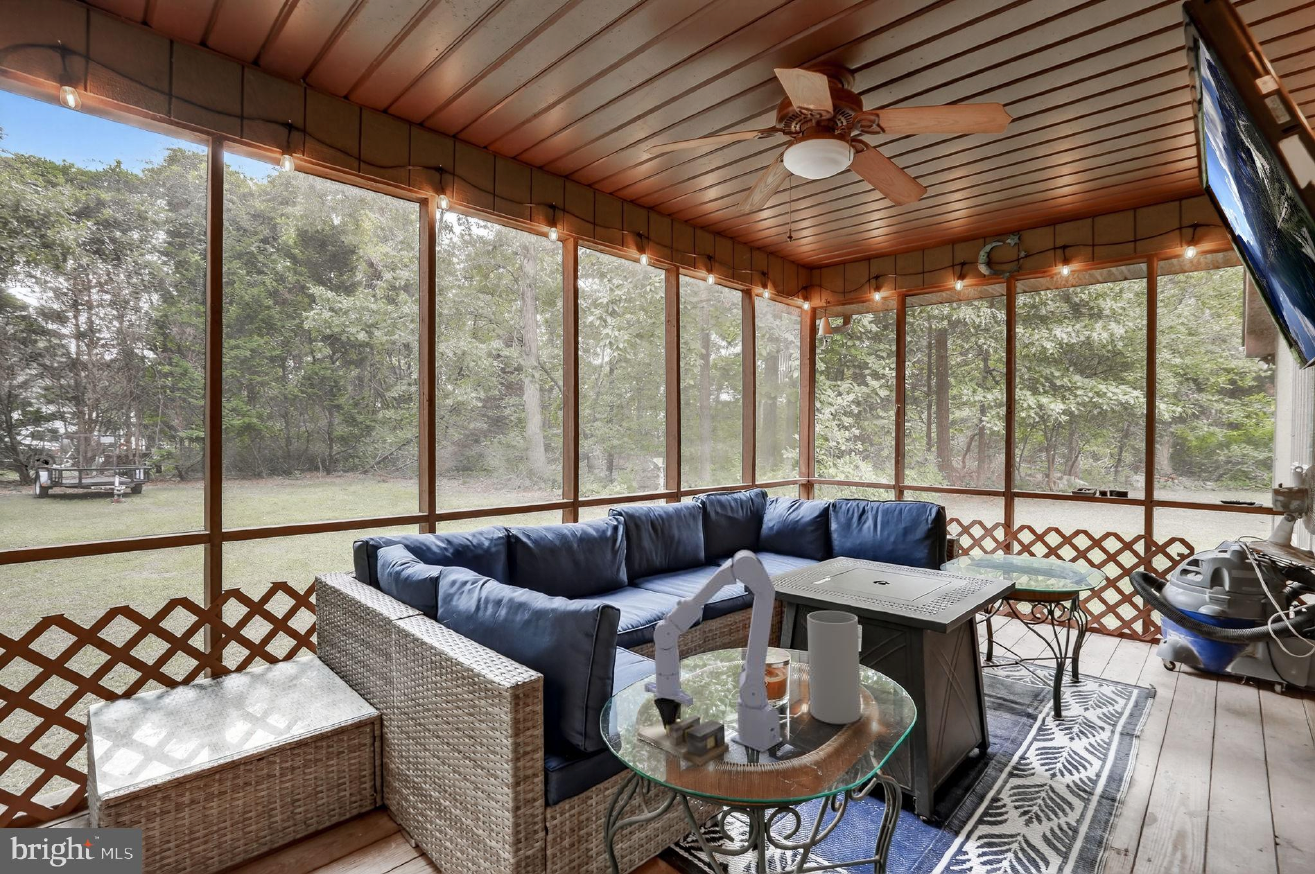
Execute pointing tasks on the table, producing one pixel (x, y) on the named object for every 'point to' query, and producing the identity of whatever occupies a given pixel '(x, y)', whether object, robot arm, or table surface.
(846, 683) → the cylinder vase
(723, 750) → the latch board
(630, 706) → the table surface
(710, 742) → the yellow sliding bolt
